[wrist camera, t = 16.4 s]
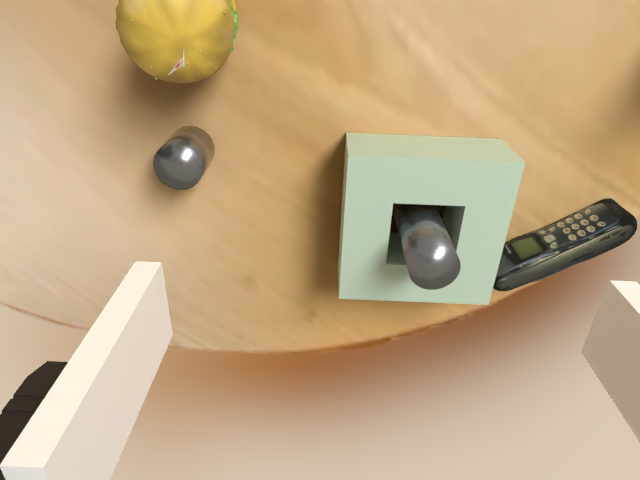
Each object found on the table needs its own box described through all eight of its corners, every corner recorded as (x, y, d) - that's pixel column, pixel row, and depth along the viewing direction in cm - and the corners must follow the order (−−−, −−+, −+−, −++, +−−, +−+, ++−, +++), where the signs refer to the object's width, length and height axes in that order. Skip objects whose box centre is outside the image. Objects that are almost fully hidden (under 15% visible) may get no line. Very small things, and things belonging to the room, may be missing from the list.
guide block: (337, 264, 50) (338, 298, 45) (346, 132, 43) (348, 155, 38) (472, 269, 50) (488, 304, 45) (502, 138, 43) (525, 162, 38)
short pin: (173, 167, 45) (156, 188, 41) (168, 125, 43) (150, 142, 39) (216, 168, 45) (203, 190, 41) (212, 127, 43) (199, 145, 39)
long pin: (390, 224, 48) (405, 288, 38) (395, 186, 46) (411, 245, 36) (430, 225, 48) (455, 290, 38) (437, 188, 46) (465, 247, 36)
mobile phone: (637, 212, 41) (475, 289, 45) (646, 238, 43) (487, 311, 46) (607, 190, 46) (461, 261, 50) (615, 214, 47) (473, 282, 51)
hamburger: (205, -60, 36) (154, -70, 26) (269, 23, 39) (246, 43, 28) (138, 11, 39) (67, 28, 28) (202, 84, 41) (159, 123, 31)
